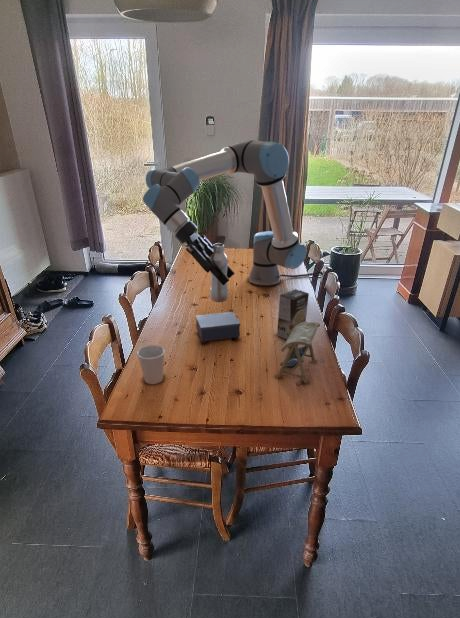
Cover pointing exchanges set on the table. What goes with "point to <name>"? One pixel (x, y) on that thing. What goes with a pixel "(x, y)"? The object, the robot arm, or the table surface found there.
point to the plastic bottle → (221, 261)
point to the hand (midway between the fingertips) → (229, 279)
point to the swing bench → (297, 354)
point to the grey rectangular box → (218, 326)
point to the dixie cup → (151, 363)
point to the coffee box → (291, 311)
